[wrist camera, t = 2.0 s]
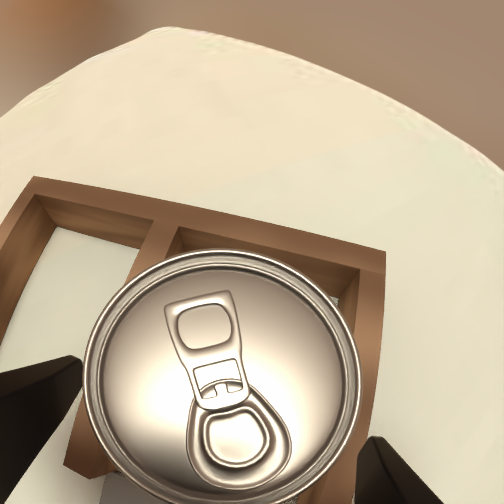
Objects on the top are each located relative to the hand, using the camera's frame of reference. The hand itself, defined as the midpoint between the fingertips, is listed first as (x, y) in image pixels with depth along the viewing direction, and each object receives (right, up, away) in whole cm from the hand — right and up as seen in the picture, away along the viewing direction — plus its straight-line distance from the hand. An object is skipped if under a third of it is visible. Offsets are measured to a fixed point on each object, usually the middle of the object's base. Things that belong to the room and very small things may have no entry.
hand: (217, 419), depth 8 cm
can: (0, -4, +8) cm, 9 cm away
